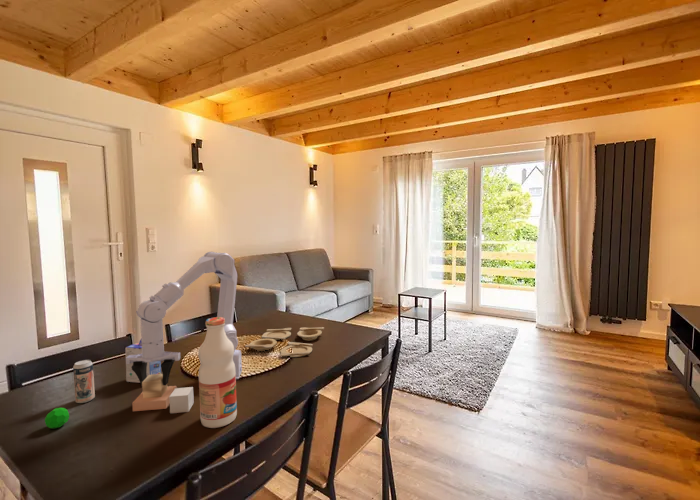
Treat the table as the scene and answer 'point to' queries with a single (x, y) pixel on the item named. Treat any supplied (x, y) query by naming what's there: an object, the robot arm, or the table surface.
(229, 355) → the fruit juice
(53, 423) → the polyhedron
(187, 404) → the grey cube
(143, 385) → the maple cube
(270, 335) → the tableware set
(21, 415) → the table surface
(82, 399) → the beer can
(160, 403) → the terracotta block
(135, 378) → the ink cartridge box
